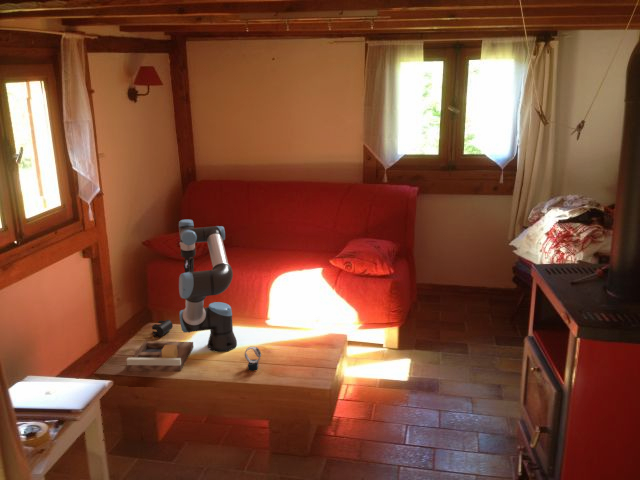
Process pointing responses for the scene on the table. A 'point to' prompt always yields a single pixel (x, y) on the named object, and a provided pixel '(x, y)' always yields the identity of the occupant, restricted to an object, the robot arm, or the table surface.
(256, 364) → the watch
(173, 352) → the block
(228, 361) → the table surface
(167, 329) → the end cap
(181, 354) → the board
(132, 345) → the table surface
